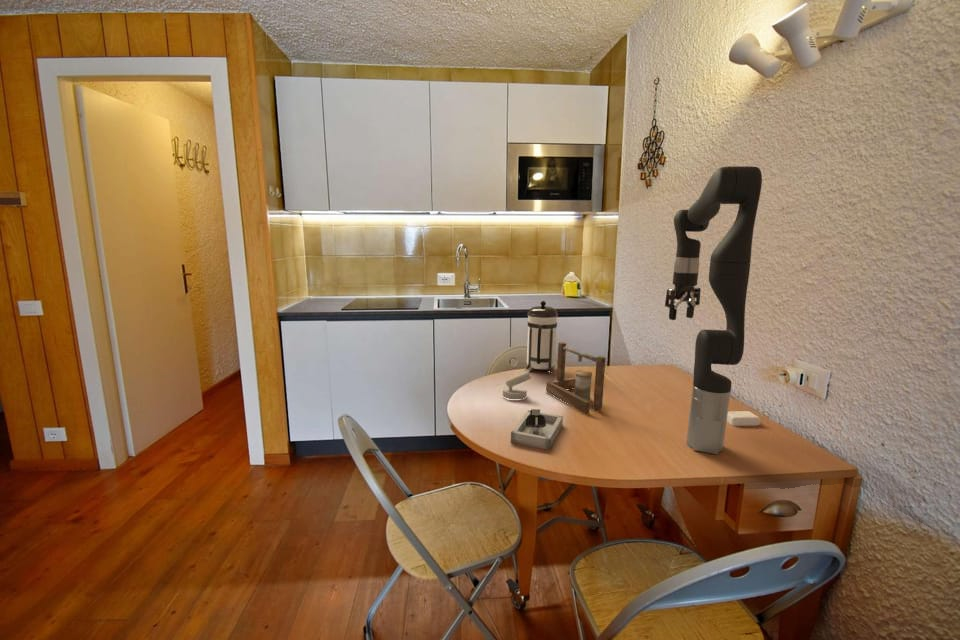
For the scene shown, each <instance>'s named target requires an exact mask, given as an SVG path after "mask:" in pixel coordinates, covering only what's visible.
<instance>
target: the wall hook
mask: <svg viewBox="0 0 960 640" xmlns="http://www.w3.org/2000/svg"><path fill="white" fill-rule="evenodd" d="M529 380H532V377H531V376H530V372H528V371H526V370H525V371H524V372H522V373H519V374H517V375H514V376H512V377H510V378H508V379H507V380H506V381H505V384H506V386H505V387H503V389H502V397H503V396H504V397H506V398H509V399H523V398H525V397H526V396H527V394H528V393H527V392H528V391H527V388H525V387H523V386H522V385H521V386H520V385H519V384H521V383H524V382H527V381H529ZM504 397H503V398H504ZM526 398H527V397H526Z"/></svg>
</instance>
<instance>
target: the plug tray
mask: <svg viewBox="0 0 960 640" xmlns="http://www.w3.org/2000/svg"><path fill="white" fill-rule="evenodd" d="M530 411H531V409H530V410H527V411H526V413H525V414H524V415H523V416H522V418H520V419H519V422H518V423H517V424H516V425H515V427H514V428H513V429H512V431H510V443H514V444H519V445H523V446H529V447H532V448H533V447H534V448H539V449H543V450H544V449H545V450H550V448H551V447H552V445H553V444H554V441H555V439H556V438H557V436H558V434H559V432H560V430H561V429H562V427H563V420H564V419H563V417H564V416H563V415H558V414H553V413H546V412H542V411H540V414H541V415H542V416H544V417H545V420H546V427H543V428H542V436H539V428H533V434H530V427H527V426H526V419H527V416H530V415H531V413H530Z"/></svg>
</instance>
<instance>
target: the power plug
mask: <svg viewBox="0 0 960 640" xmlns="http://www.w3.org/2000/svg"><path fill="white" fill-rule="evenodd" d="M540 412H541V409H538V408H535V409H534V408H531V409H530V413H531V415H530V416H527V419H526V426H527V427H530V434H533V428H539V436H542V428H543V427H546V420H545V417H544V416H542V415H541V414H540Z"/></svg>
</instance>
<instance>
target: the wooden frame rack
mask: <svg viewBox="0 0 960 640" xmlns="http://www.w3.org/2000/svg"><path fill="white" fill-rule="evenodd" d="M557 343H558V345H557V347H558V348H557V365H556V380H551V381H546V382H545V384H546V385H545V387H546V388H545V392H546V391H547V392H548V393H550V394H552V395H554V396H555V397H557V398H559V399H561V400H562V401H564V402H566V403H568V404H569V405H568V404H567V405H568V406H570V405H571V406H570V407H572V406H573V407H574V409H575V408H576V409H575V410H577V409H578V410H577V411H579V412H581V413H582V412H583V413H582V414H584V413H585V415H588V414H587V413H589V414H590V406H591V402H590V401H587V400H585V399H583V398H581V397H579V396H577V395H575V393H574V392H571V390H566V389H572V388H575V379H576V376H574V377H567V378H565V372H566V357H567V356H566V355H567V354H566V353H567V352H569V353H572V354H574V355H577V356H578V358H577V360H578V361H577V362H579V363H581V362H583V359H584V358H585V359H587V360H589V361H591V362H595V376H594V389H593V390H594V393H593V403H592V404H593V407H592V410H593V409H594V410H595V411H594V410H593V411H594V412H596V411H599V412H601V410H603V399H604V398H603V397H604V385H605V383H604V382H605V372H606V371H605V370H606V360H607V358H606V357H605V356H601V355H600V356H593V355H591V354H587V353H586V352H585V353H584V352H582V351H579V350H577V349H573V348H571V347H569V346H567V342H563V341H561V342H557ZM572 390H573V389H572ZM548 393H547V394H548ZM550 394H549V395H550ZM552 395H551V396H552ZM555 397H554V398H555ZM557 398H556V399H557ZM559 399H558V400H559ZM561 400H560V401H561ZM562 401H561V402H562ZM564 402H563V403H564ZM566 403H565V404H566ZM573 407H572V408H573Z"/></svg>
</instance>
